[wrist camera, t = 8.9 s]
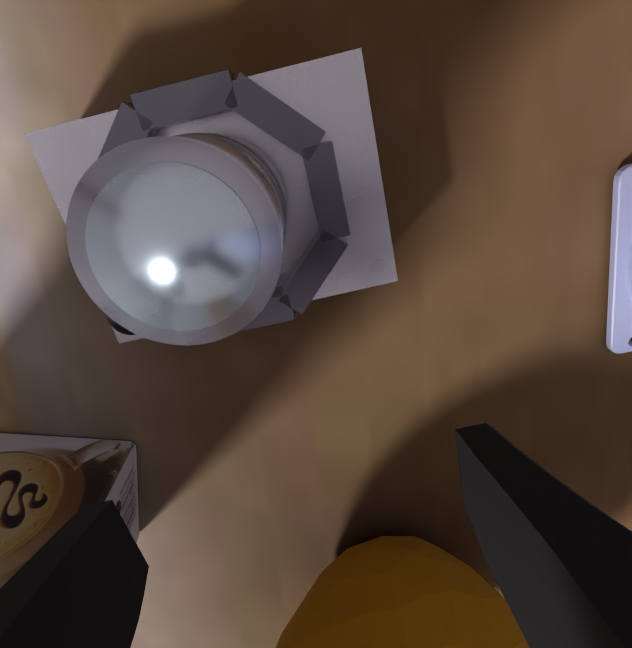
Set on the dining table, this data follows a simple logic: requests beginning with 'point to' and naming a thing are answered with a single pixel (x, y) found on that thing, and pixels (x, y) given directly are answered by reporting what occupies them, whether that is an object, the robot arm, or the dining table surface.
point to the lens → (179, 235)
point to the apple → (401, 602)
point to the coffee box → (58, 489)
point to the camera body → (285, 154)
